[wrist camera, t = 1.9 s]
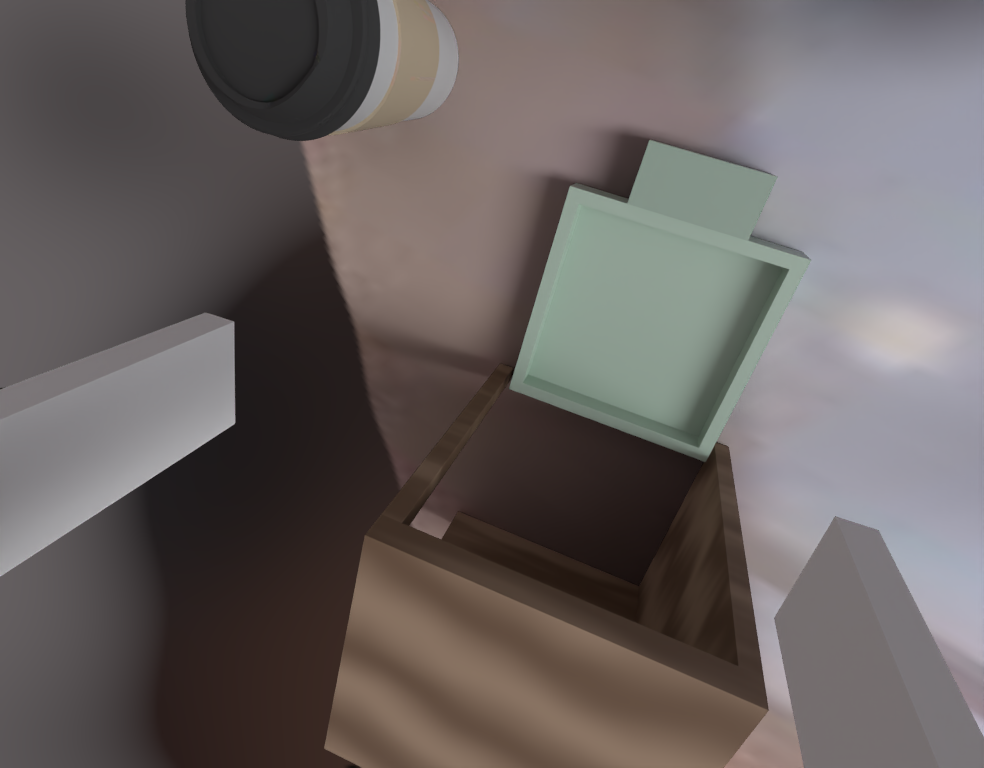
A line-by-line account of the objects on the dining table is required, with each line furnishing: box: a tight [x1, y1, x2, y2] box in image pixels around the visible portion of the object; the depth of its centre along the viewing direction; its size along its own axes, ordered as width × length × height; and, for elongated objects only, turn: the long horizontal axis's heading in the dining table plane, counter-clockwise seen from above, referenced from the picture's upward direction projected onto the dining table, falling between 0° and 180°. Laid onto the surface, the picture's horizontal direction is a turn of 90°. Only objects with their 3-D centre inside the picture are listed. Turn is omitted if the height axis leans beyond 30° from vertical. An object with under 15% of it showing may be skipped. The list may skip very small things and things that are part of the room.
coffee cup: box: [186, 0, 459, 141], centre depth 29 cm, size 9×9×15 cm
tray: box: [509, 140, 811, 462], centre depth 36 cm, size 18×14×2 cm
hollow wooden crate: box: [324, 363, 769, 768], centre depth 35 cm, size 16×17×20 cm
